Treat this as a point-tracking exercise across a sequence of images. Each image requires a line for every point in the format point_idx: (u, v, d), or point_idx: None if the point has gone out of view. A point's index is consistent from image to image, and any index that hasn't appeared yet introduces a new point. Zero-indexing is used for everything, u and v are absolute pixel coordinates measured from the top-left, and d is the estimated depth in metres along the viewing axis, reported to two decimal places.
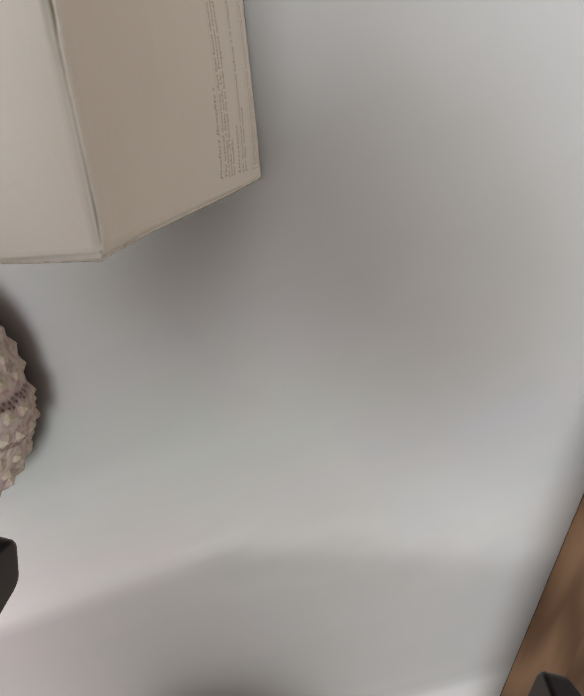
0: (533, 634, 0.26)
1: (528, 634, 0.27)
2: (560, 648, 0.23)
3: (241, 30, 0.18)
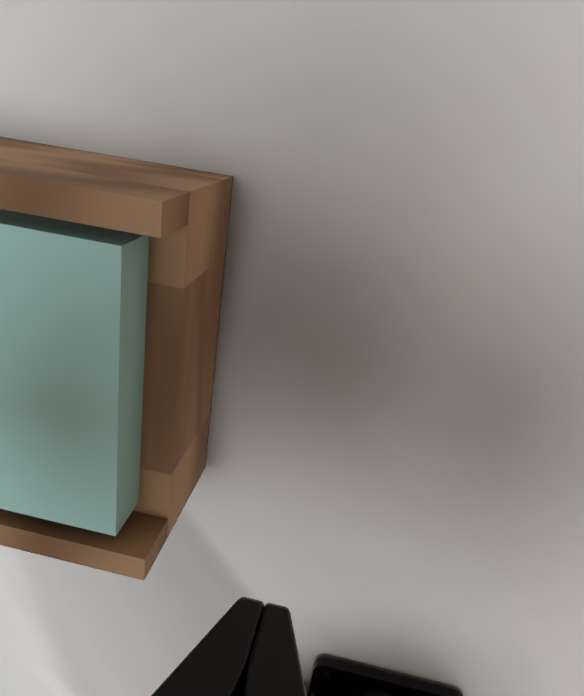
0: None
1: None
2: None
3: None
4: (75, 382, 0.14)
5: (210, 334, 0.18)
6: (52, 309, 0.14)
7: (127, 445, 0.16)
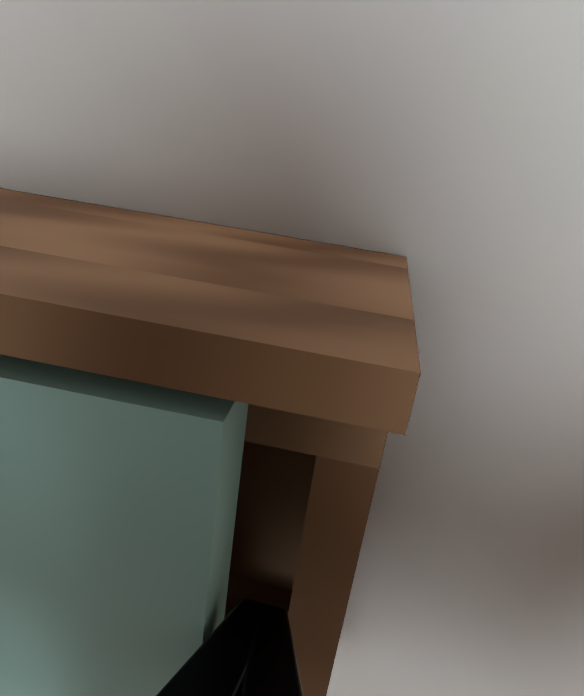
0: None
1: None
2: None
3: None
4: (129, 619, 0.09)
5: None
6: (92, 513, 0.08)
7: None
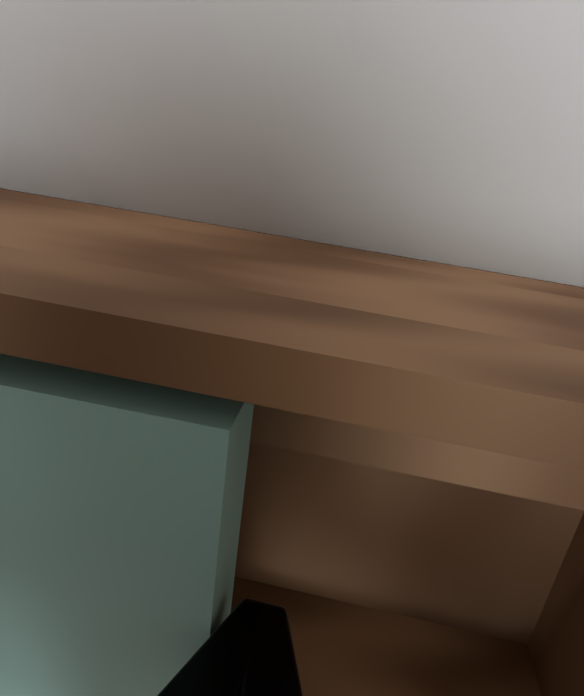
0: None
1: None
2: None
3: None
4: (136, 625, 0.09)
5: None
6: (100, 520, 0.08)
7: None
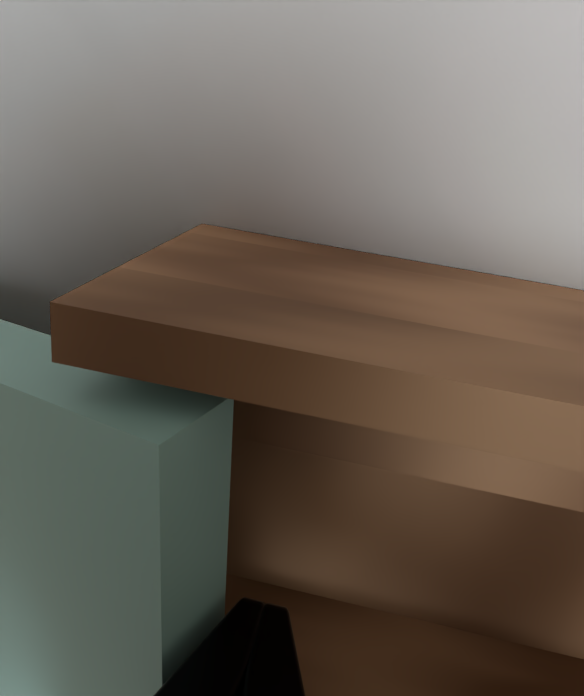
0: None
1: None
2: None
3: None
4: (100, 637, 0.08)
5: None
6: (63, 521, 0.08)
7: None
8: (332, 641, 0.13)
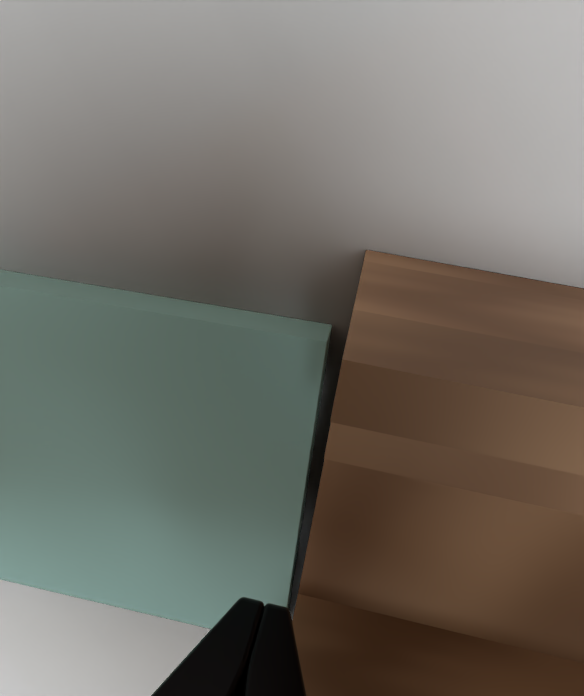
0: None
1: None
2: None
3: None
4: (253, 485, 0.13)
5: None
6: (235, 408, 0.12)
7: (297, 546, 0.14)
8: (489, 684, 0.12)
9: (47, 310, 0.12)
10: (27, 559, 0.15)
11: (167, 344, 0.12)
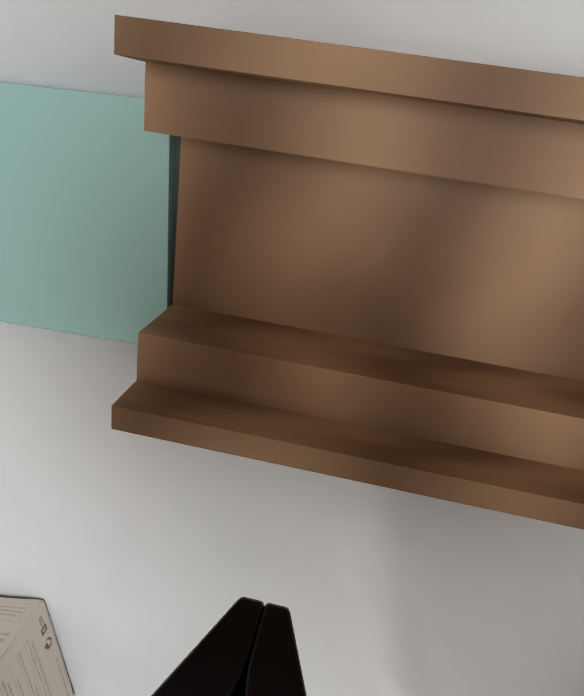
0: None
1: None
2: None
3: None
4: (135, 216, 0.19)
5: None
6: (119, 157, 0.19)
7: None
8: (287, 339, 0.19)
9: None
10: None
11: (72, 112, 0.18)
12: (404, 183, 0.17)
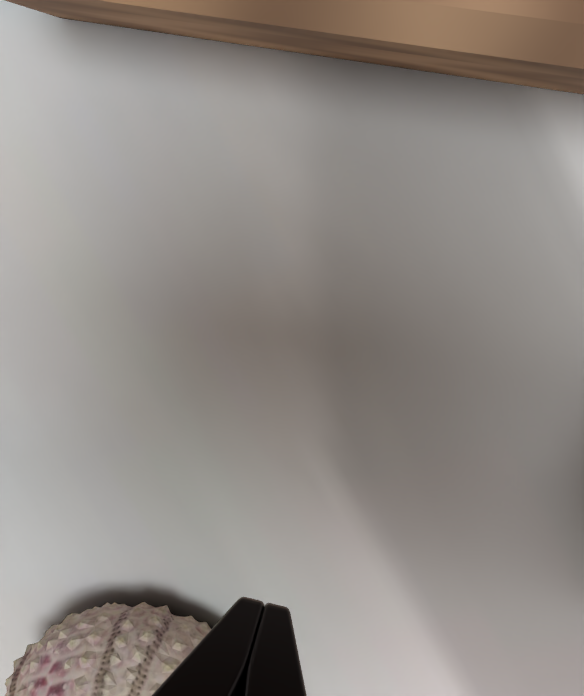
0: (419, 68, 0.17)
1: (435, 71, 0.17)
2: (351, 49, 0.15)
3: None
4: None
5: None
6: None
7: None
8: None
9: None
10: None
11: None
12: None
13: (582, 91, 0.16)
